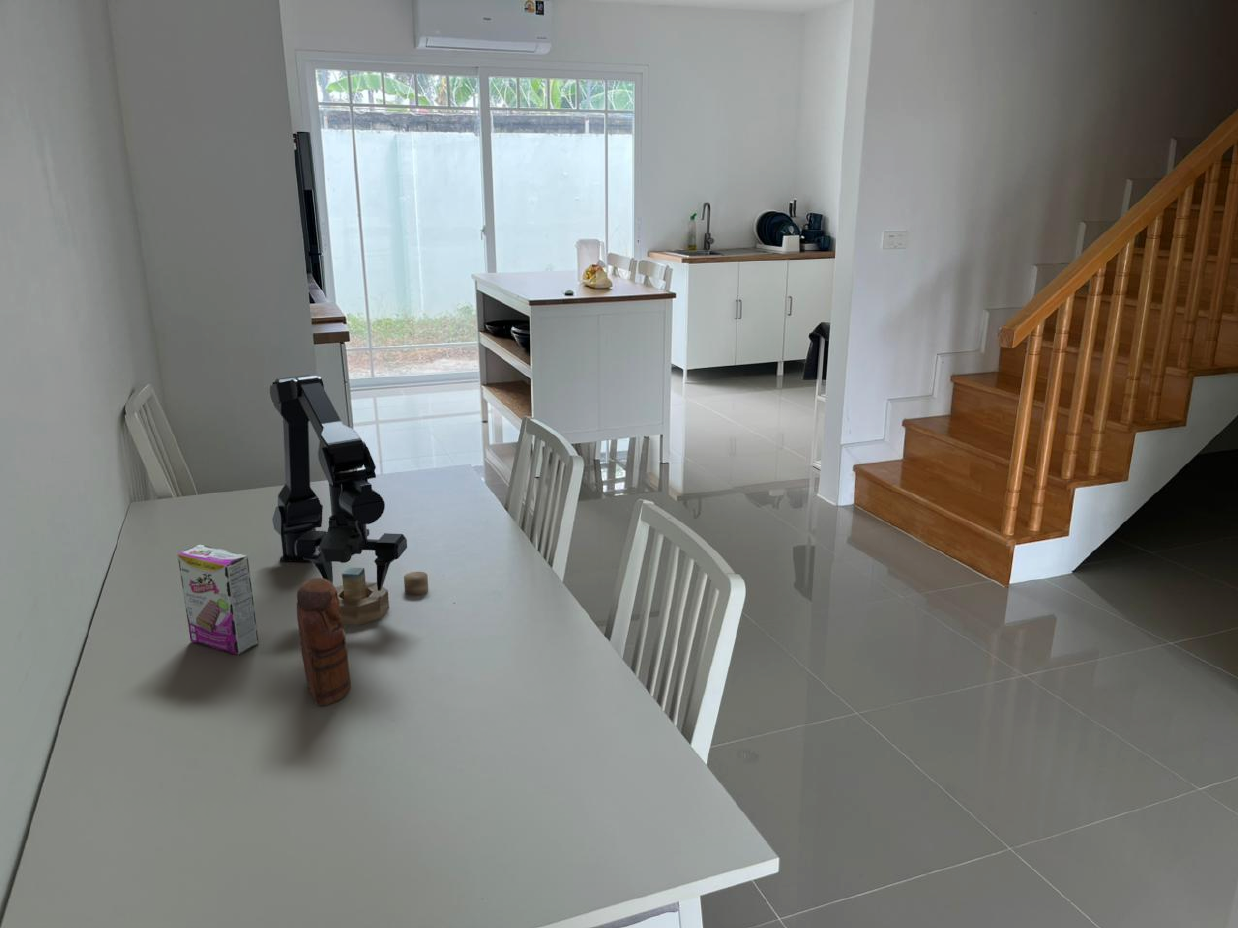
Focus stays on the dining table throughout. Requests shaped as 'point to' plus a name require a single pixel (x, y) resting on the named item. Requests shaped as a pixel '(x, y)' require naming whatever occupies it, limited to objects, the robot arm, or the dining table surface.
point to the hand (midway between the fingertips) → (355, 588)
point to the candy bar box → (218, 598)
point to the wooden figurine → (322, 641)
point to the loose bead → (416, 583)
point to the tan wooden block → (354, 584)
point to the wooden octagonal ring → (363, 605)
